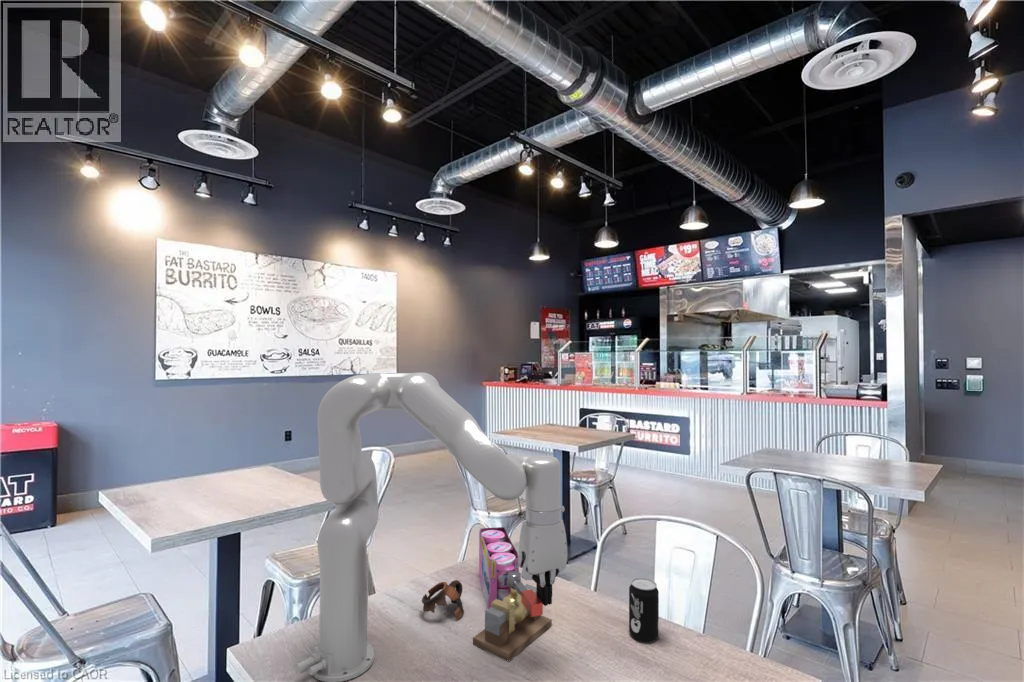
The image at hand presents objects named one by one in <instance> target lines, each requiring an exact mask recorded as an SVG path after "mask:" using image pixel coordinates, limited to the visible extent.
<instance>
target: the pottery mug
mask: <svg viewBox="0 0 1024 682" xmlns="http://www.w3.org/2000/svg"><path fill="white" fill-rule="evenodd" d="M436 593H437V594H436ZM462 593H463V584H462V582H461V581H459V580H458V579H455V580H453V581H451V582H450V583H449V584H448V582H447V581H441V582H439V583H436V584H435V585H433V586H432V587H431V588H429V590H428V591H427V593H426V594H424V595H423V596H422V599H421V602H422V604H423V606H422V610H423V612H427V613H428V612H431V613H433V614H435V608H436V605H437V606H441V607H446V606H448V604H447V602H446V596H447V597H448V598H449V599H450V602H451V603H452V604H456V605H457V608H456V609H455V611H454V613H453V615H454V617H455V618H456V621H457V620H458V621H460V620H461V618H462V617H463V615H464V612H465V609H464V607H463V602H462V600H461V597H462ZM428 594H429V595H428ZM435 594H436V595H435Z"/></svg>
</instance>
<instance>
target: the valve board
mask: <svg viewBox="0 0 1024 682" xmlns="http://www.w3.org/2000/svg"><path fill="white" fill-rule="evenodd" d="M552 622H553V620H552V618H549V617H546V616H544V615H539V616H534V617H528V616H526V617H525V619H524V620H523V621H522V622H520V623H518V624H515V630H514V631H512V632H511V633H510V634H508V621H506V622H505V623H504V624H502V625H501V626H500V636H498V635H496V634H494V633H491V632H489V631H487V630H485V628H484V629H483V630H481V631H480V632H478V633H477V634H475V636H472V645H474V646H475V647H477V648H480V649H482V650H484V651H486V652H488V653H491V654H492V655H495V656H497V657H499V658H501V659H502V658H503V659H502V660H504V661H507V660H508V661H507V662H510V661H511V660H513V657H514V658H515V657H516V656H517V655H518V654H520V653H521V652H522V651H523V650H525V649H526V648H527V647H528V646H529V645H531V643H532V644H533V642H534V641H536V640H537V639H538V638H539V637H540V636H541V635H542V634H544V633H545V632H546V631H547V630H549V629H550V628H551V627H552V626H553V624H552ZM509 660H510V661H509Z"/></svg>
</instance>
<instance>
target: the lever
mask: <svg viewBox="0 0 1024 682" xmlns="http://www.w3.org/2000/svg"><path fill="white" fill-rule="evenodd" d="M521 575H522V572H520V571H519V572H517V571H511V572H509V573H508V587H509V588H513V589H516V590H517V591H518V593H519V594H520V595H521V603H522V604H523V605H524V607H525V608H526V610H527V611H528V612H529V614H530V615H531V616H532V617H534V616H539V615H542V616H544V615H543V614H544V610H543V609H544V607H543V606H544V605H543V603H542V601H541V600H540V599H539V598H538V596H537V595H536V594H535V593H534V592H533V590H527V588H526V587H525V584H524V583H523V582H522V580H521V579H522V577H521Z"/></svg>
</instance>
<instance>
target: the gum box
mask: <svg viewBox="0 0 1024 682" xmlns="http://www.w3.org/2000/svg"><path fill="white" fill-rule="evenodd" d="M510 538H511V537H510V536H509V534H508V532H507V530H506V527H505V526H503V527H502V526H500V527H482V528H480V529H479V533H478V539H479V540H478V541H479V543H478V544H479V545H478V546H479V547H478V559H479V560H478V563H479V564H478V576H479V580H480V584H481V589H482V588H483V589H482V592H483V597H484V596H485V597H484V599H485V603H486V604H487V605H486V604H485V605H486V607H487V610H488V609H489V608H491V602H492V601H494V600H496V599H498V600H503V598H504V597H505V596H506V595H507V594H509V593H511V588H509V587H508V573H509V572H511V571H517V572H520V567H519V563H518V555H519V552H518V551H517V549H516V548H515V546H514V543H513V542H512V540H511V539H510Z"/></svg>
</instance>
